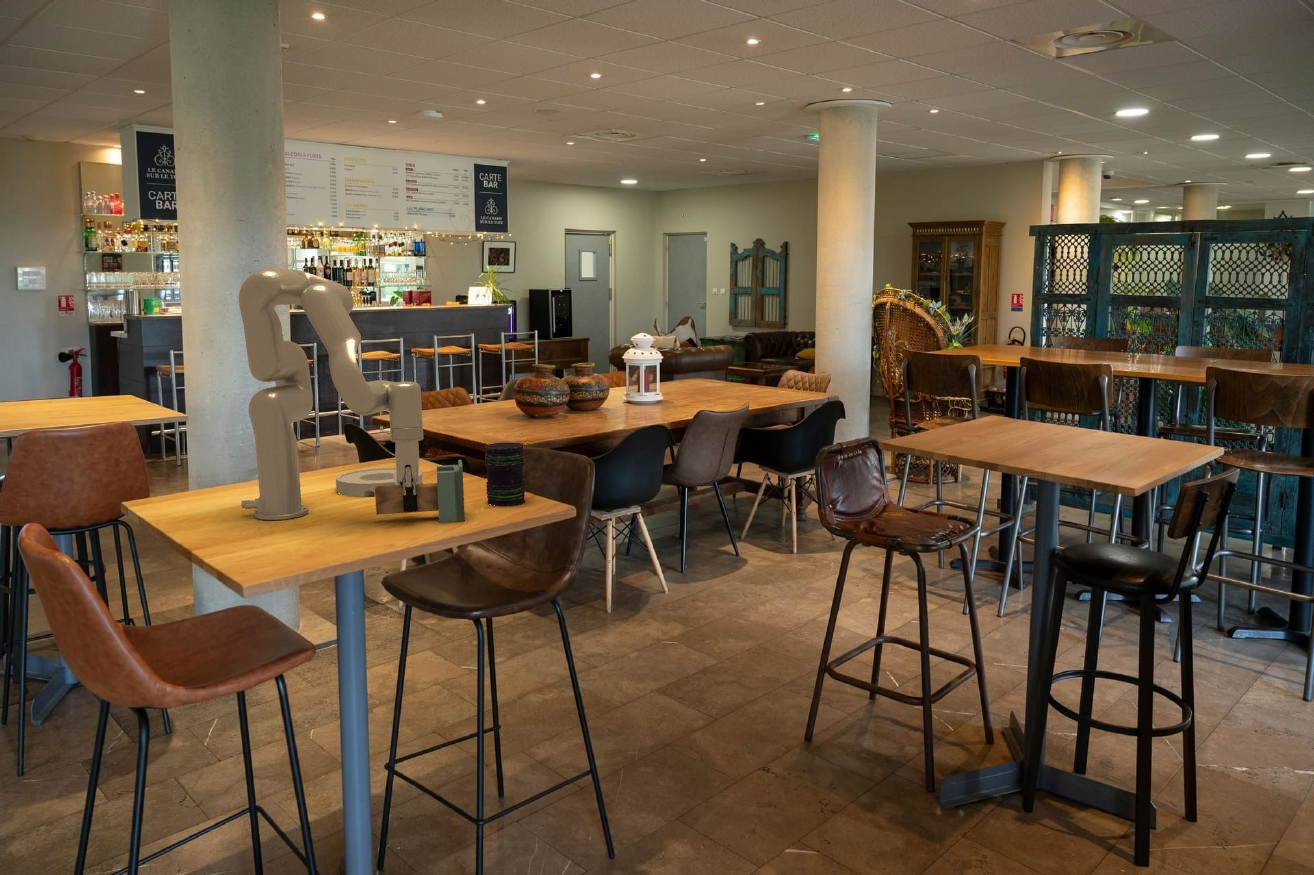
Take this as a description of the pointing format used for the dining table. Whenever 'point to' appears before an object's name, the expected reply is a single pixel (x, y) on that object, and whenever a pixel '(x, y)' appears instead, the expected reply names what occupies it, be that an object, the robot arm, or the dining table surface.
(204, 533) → the dining table surface
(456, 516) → the u-shaped channel piece
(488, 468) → the storage jar
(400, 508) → the brown wooden block
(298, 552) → the dining table surface
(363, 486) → the ashtray
